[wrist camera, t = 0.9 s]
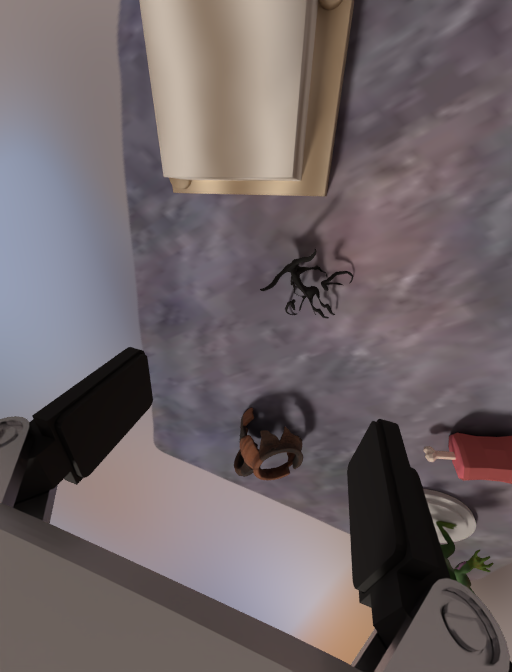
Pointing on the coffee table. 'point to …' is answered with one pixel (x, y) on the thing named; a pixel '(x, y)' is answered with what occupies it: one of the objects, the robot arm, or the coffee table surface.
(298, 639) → the robot arm
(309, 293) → the creature
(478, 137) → the coffee table surface
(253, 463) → the pottery mug
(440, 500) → the monster figurine
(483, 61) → the coffee table surface
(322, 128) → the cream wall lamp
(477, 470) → the meat
